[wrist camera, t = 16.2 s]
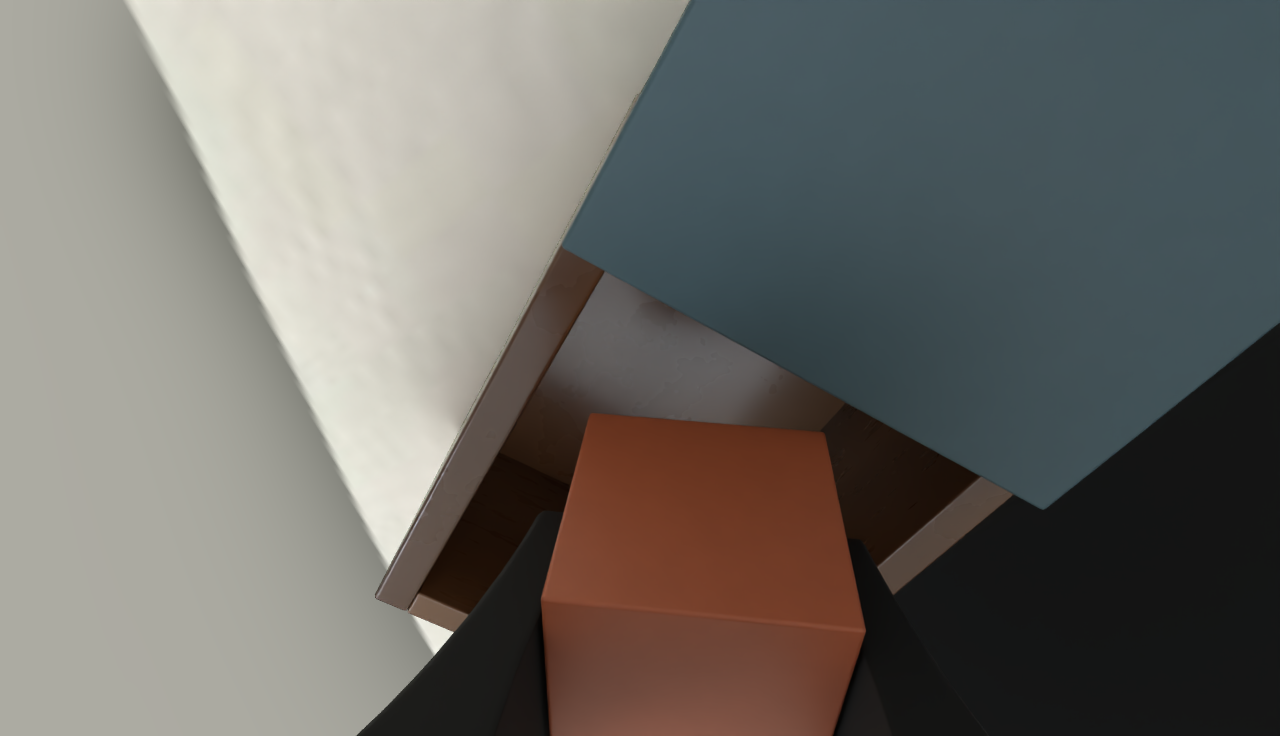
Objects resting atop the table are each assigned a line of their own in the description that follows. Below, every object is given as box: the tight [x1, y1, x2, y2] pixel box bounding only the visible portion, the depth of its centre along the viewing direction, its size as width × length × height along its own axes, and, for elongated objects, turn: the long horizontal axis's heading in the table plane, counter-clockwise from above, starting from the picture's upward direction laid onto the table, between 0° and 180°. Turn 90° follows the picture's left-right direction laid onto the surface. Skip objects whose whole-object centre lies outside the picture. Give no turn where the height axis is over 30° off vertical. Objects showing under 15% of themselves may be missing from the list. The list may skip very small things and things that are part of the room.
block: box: [541, 413, 866, 736], centre depth 11 cm, size 4×4×4 cm
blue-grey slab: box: [562, 0, 1280, 510], centre depth 7 cm, size 9×11×3 cm
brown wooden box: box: [375, 94, 1014, 632], centre depth 16 cm, size 9×11×6 cm
